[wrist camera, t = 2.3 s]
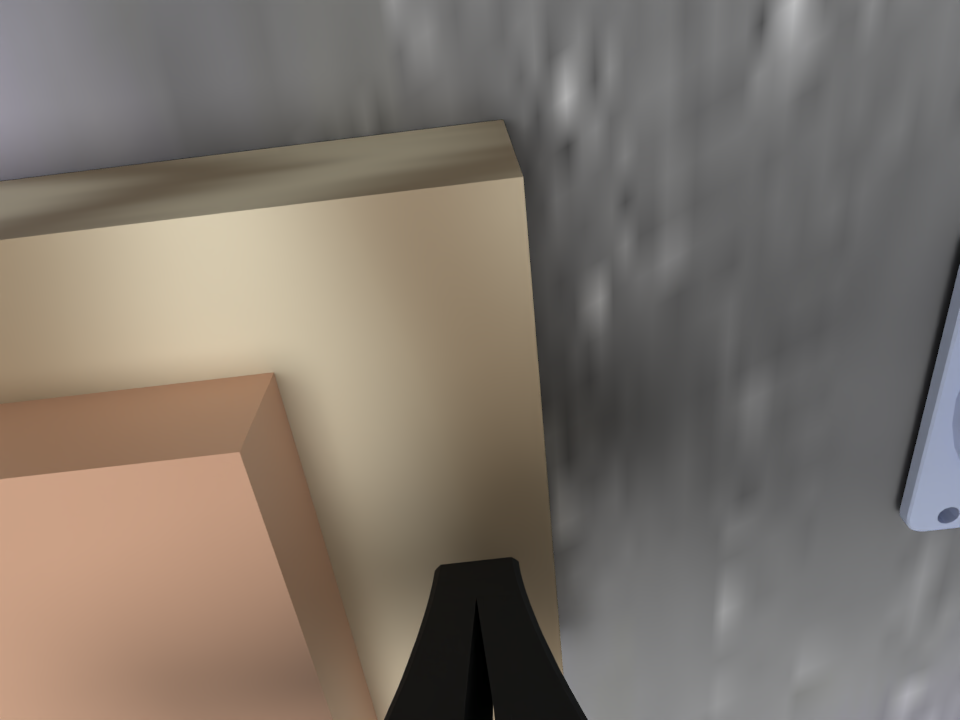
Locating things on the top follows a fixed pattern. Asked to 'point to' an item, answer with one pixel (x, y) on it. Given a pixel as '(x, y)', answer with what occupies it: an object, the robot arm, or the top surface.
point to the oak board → (318, 339)
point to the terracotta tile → (167, 562)
